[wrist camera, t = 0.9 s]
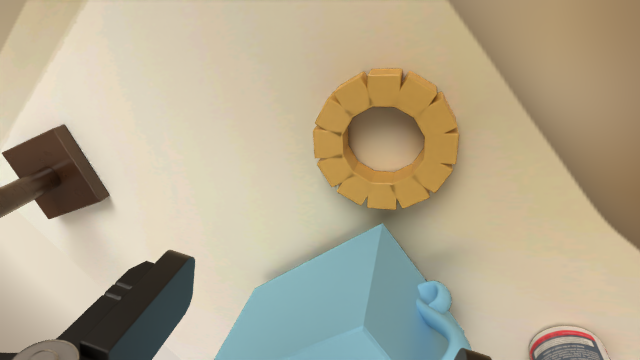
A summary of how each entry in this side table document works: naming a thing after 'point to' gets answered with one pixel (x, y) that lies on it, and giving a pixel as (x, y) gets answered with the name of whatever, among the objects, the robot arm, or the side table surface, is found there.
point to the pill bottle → (567, 345)
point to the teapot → (348, 309)
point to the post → (50, 175)
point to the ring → (409, 98)
